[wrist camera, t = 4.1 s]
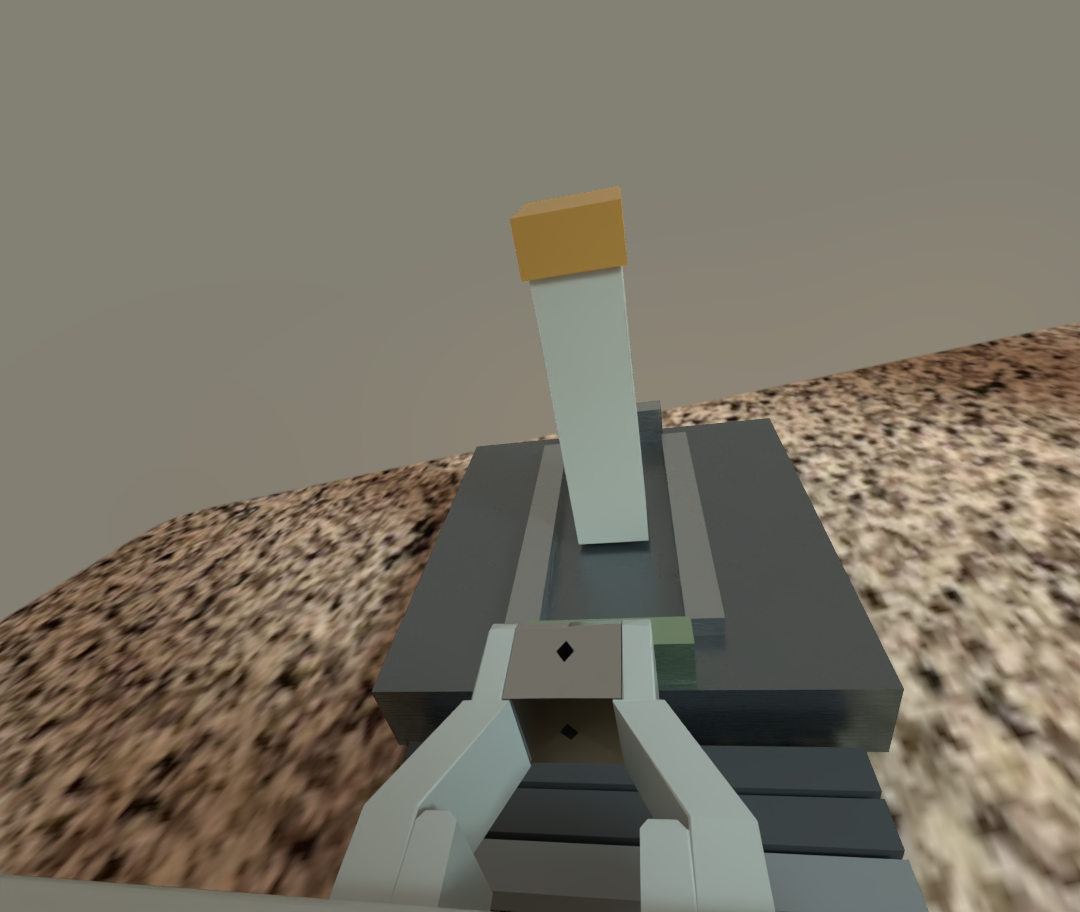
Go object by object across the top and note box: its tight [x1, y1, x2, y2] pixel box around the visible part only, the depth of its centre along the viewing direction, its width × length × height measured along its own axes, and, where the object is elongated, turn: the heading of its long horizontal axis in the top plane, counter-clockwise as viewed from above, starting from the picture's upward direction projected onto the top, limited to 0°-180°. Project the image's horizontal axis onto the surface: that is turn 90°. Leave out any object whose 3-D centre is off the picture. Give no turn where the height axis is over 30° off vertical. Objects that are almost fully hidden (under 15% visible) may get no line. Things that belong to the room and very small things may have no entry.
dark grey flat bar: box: [402, 741, 928, 912], centre depth 16 cm, size 14×4×1 cm, turn 83°
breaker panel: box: [372, 401, 904, 752], centre depth 24 cm, size 16×16×5 cm
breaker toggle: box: [510, 186, 649, 544], centre depth 20 cm, size 3×3×12 cm
